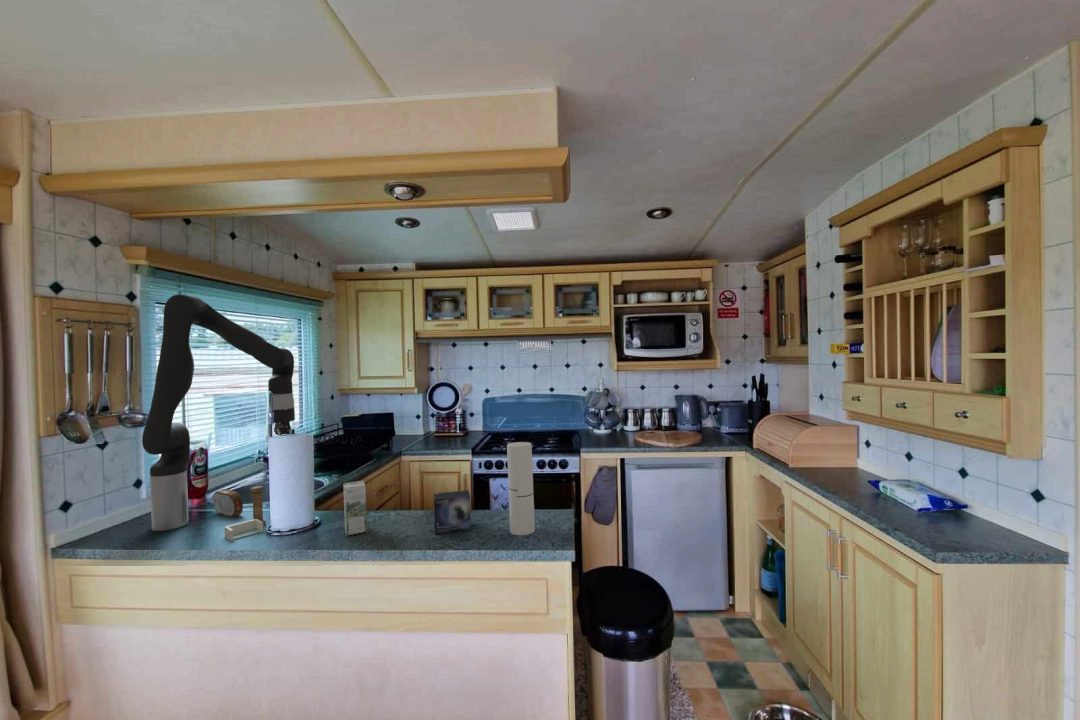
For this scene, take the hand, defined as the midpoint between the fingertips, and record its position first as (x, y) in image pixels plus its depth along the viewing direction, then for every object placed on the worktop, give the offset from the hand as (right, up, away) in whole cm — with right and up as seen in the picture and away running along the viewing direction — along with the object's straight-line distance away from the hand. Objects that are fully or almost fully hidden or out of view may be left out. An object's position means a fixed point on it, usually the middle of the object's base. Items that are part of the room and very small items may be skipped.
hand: (284, 458), depth 151 cm
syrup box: (+31, -19, -16) cm, 39 cm away
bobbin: (-4, -20, -7) cm, 21 cm away
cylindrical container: (+81, -17, -20) cm, 85 cm away
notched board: (-4, -20, -14) cm, 25 cm away
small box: (+60, -18, -17) cm, 65 cm away
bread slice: (-22, -21, +5) cm, 31 cm away
